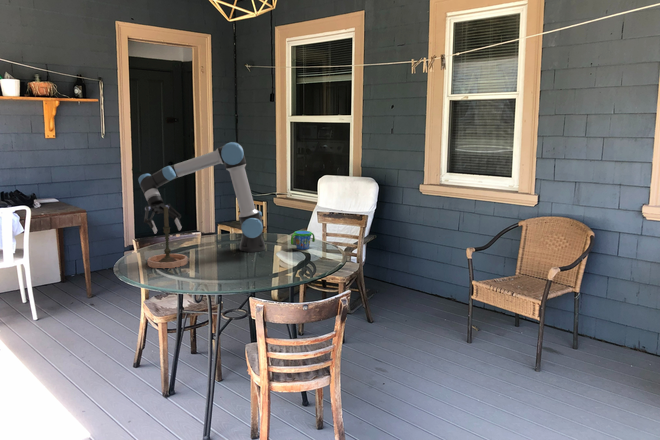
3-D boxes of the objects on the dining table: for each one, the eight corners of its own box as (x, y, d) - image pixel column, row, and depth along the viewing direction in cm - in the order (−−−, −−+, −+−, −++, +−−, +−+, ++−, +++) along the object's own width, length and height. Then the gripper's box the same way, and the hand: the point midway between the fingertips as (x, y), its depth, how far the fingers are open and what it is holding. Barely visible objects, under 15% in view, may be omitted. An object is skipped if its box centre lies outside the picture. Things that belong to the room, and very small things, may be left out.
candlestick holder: (171, 264, 274) (169, 207, 269) (155, 263, 275) (153, 206, 270) (179, 260, 282) (178, 205, 277) (164, 259, 284) (162, 204, 279)
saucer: (188, 258, 291) (188, 253, 290) (186, 267, 271) (185, 262, 271) (150, 259, 287) (150, 254, 286) (145, 269, 267) (145, 263, 267)
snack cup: (311, 245, 325) (311, 229, 323) (318, 249, 316) (318, 232, 314) (287, 248, 318) (287, 231, 317) (294, 251, 309) (294, 234, 307)
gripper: (173, 201, 293) (187, 231, 285) (129, 205, 276) (143, 237, 268) (177, 192, 288) (192, 223, 280) (133, 196, 271) (147, 229, 263)
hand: (168, 230), depth 274 cm, fingers open, 13 cm apart
